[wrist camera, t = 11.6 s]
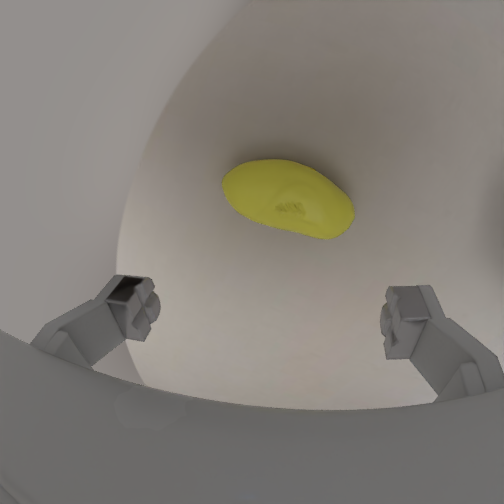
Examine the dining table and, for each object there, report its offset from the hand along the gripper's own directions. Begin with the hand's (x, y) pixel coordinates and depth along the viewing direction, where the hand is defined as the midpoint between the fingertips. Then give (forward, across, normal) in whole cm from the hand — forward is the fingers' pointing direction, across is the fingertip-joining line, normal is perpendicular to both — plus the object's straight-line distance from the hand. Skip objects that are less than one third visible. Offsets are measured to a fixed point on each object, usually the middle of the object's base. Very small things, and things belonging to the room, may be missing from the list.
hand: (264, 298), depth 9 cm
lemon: (+10, 0, 0) cm, 10 cm away
